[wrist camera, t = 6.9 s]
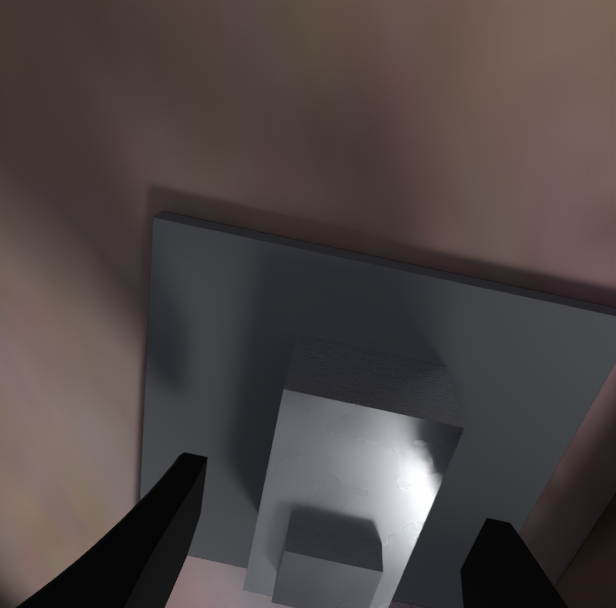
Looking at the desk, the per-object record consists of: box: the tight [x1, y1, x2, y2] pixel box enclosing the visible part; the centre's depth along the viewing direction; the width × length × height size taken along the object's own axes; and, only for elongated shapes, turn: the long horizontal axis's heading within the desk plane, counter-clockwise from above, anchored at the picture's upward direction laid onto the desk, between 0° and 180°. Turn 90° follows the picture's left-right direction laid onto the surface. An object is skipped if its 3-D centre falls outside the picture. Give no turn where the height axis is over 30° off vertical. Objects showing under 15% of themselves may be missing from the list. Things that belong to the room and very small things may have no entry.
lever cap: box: [243, 334, 464, 608], centre depth 13 cm, size 7×4×3 cm, turn 169°
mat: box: [140, 211, 616, 608], centre depth 15 cm, size 12×12×1 cm
